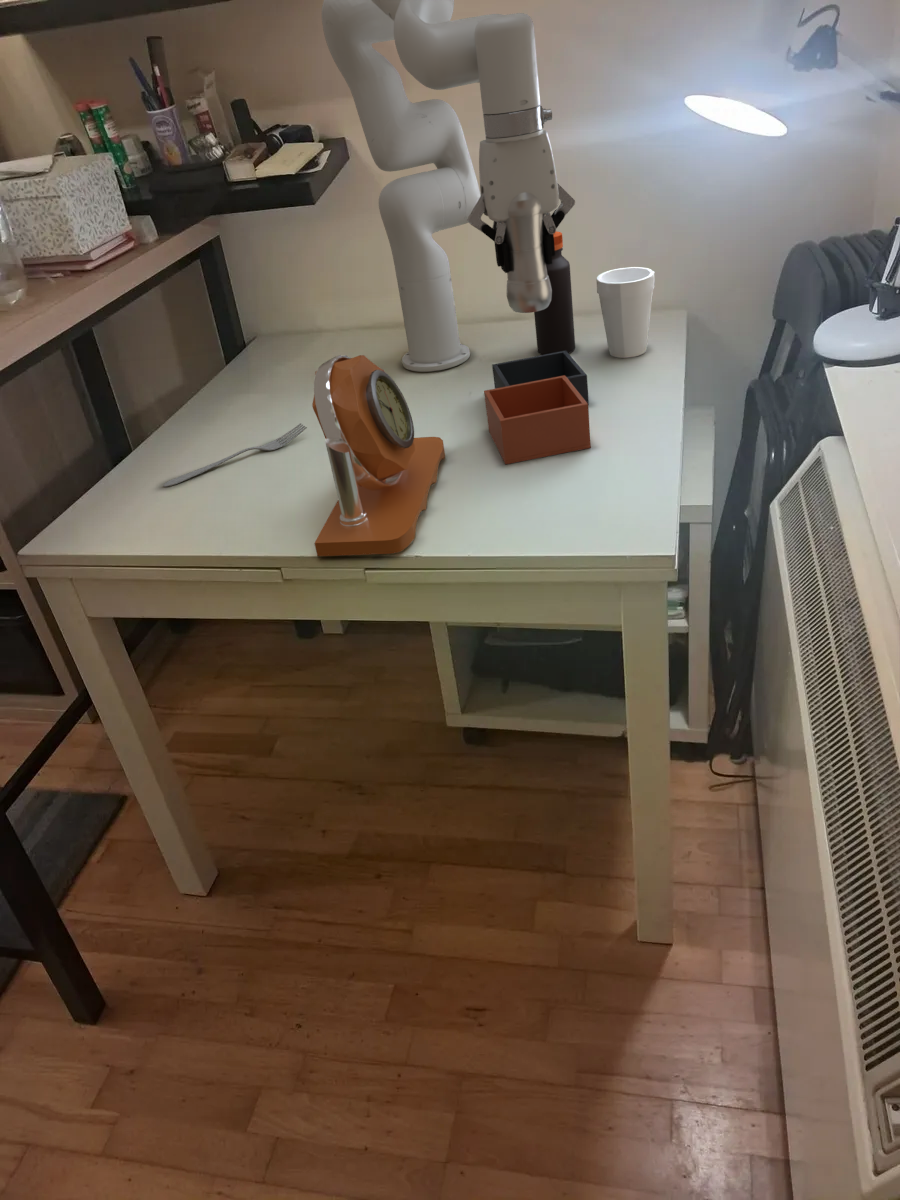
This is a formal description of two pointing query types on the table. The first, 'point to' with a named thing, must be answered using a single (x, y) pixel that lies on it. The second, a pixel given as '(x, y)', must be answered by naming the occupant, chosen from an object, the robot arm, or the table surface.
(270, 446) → the fork
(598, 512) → the table surface
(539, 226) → the metal bottle
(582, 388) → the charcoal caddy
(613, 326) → the foam cup
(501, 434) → the terracotta bin
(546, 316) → the vinegar
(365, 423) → the desk clock
